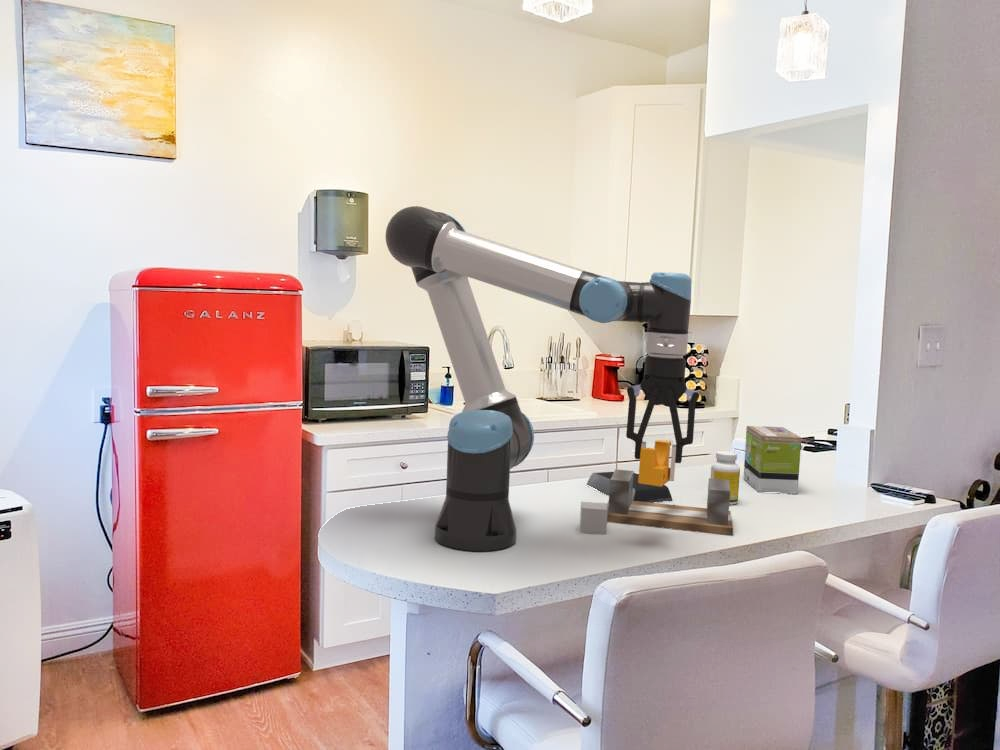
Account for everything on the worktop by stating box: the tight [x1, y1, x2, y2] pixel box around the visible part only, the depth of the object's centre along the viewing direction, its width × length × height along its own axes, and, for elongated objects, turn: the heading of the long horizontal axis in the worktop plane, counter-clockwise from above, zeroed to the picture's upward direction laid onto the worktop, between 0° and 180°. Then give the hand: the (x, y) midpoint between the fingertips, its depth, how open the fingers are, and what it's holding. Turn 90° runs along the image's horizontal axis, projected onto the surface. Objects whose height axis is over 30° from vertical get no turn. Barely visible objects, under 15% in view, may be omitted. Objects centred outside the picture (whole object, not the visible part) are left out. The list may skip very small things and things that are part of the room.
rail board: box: [606, 469, 734, 536], centre depth 167 cm, size 26×14×8 cm, turn 76°
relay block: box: [579, 501, 608, 535], centre depth 157 cm, size 5×5×5 cm
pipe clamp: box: [638, 439, 672, 487], centre depth 151 cm, size 12×4×6 cm, turn 154°
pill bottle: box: [710, 450, 741, 506], centre depth 185 cm, size 6×6×12 cm
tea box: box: [743, 425, 802, 495], centre depth 203 cm, size 15×10×15 cm, turn 178°
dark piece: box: [586, 471, 673, 503], centre depth 190 cm, size 13×19×4 cm
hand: (656, 477), depth 151 cm, fingers closed on pipe clamp, 5 cm apart
